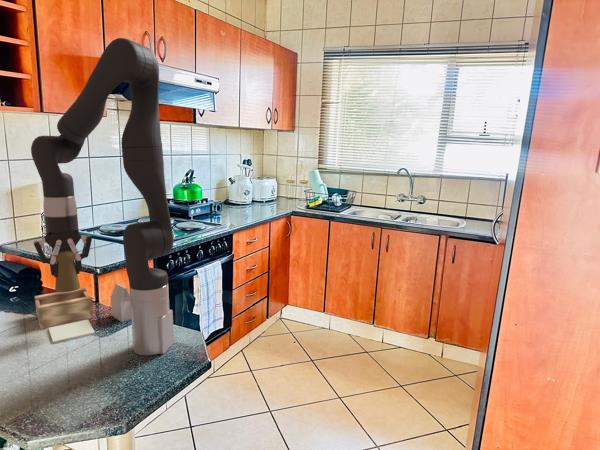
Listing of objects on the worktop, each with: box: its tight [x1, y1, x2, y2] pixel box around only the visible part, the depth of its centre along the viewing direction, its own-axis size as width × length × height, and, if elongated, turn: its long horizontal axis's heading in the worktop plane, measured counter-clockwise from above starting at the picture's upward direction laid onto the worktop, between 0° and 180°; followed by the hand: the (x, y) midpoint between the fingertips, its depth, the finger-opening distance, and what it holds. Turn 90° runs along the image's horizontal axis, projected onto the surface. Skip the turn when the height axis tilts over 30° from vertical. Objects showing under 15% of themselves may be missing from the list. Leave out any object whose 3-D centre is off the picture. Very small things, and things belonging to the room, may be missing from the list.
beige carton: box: [110, 283, 132, 323], centre depth 124 cm, size 4×7×10 cm, turn 48°
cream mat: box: [48, 319, 96, 345], centre depth 114 cm, size 10×10×1 cm
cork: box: [54, 250, 81, 293], centre depth 111 cm, size 6×6×11 cm
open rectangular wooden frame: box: [34, 287, 94, 330], centre depth 123 cm, size 14×11×6 cm
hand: (66, 274), depth 111 cm, fingers closed on cork, 4 cm apart
